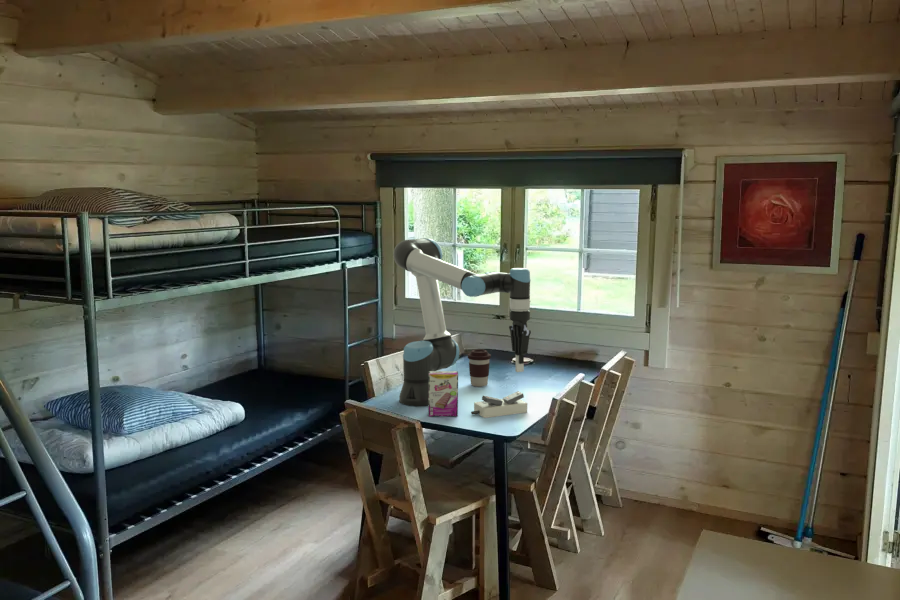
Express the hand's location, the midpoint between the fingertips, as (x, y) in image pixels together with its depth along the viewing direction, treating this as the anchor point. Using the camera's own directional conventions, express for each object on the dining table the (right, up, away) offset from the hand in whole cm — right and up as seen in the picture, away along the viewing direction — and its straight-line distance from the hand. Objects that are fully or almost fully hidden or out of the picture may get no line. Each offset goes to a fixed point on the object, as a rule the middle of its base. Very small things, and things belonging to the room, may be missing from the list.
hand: (519, 371), depth 276 cm
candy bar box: (-29, -16, -2) cm, 33 cm away
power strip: (-8, -16, +1) cm, 18 cm away
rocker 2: (-2, -10, +1) cm, 10 cm away
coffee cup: (-14, -10, +41) cm, 44 cm away
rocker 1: (-11, -11, -3) cm, 15 cm away
